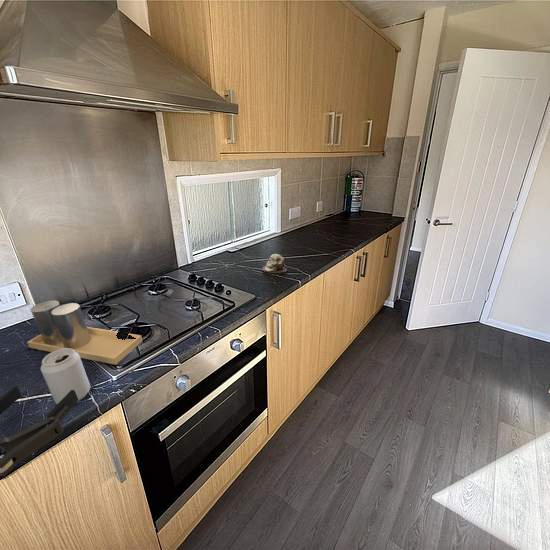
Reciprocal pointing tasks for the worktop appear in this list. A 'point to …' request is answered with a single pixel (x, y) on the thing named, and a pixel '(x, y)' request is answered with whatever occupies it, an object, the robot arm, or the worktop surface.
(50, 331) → the silver can
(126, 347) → the tray
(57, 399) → the can
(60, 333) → the silver can
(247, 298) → the worktop surface
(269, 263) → the skull
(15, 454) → the robot arm
